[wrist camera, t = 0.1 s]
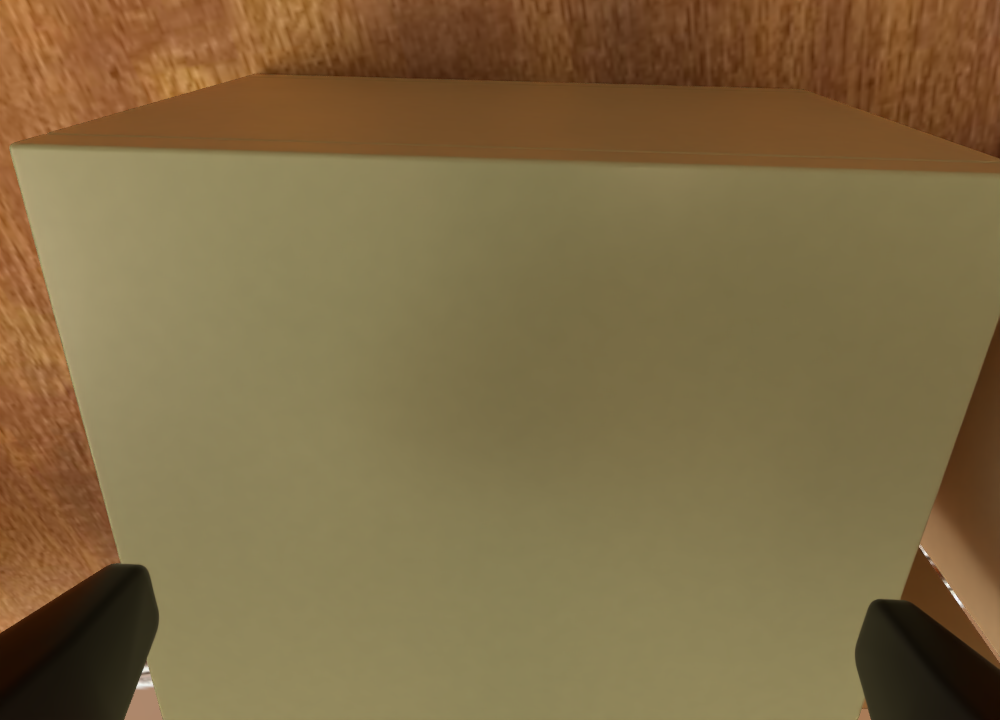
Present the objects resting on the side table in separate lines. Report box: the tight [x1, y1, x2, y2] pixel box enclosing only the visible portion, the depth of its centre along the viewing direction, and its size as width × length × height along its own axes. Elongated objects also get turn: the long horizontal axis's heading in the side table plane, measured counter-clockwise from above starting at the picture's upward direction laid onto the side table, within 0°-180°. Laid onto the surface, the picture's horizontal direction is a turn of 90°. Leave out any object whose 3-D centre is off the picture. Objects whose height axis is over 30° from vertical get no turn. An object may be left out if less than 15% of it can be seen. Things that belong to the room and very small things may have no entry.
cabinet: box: [10, 74, 1000, 720], centre depth 17 cm, size 14×13×10 cm
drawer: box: [862, 317, 1000, 709], centre depth 16 cm, size 17×11×8 cm
